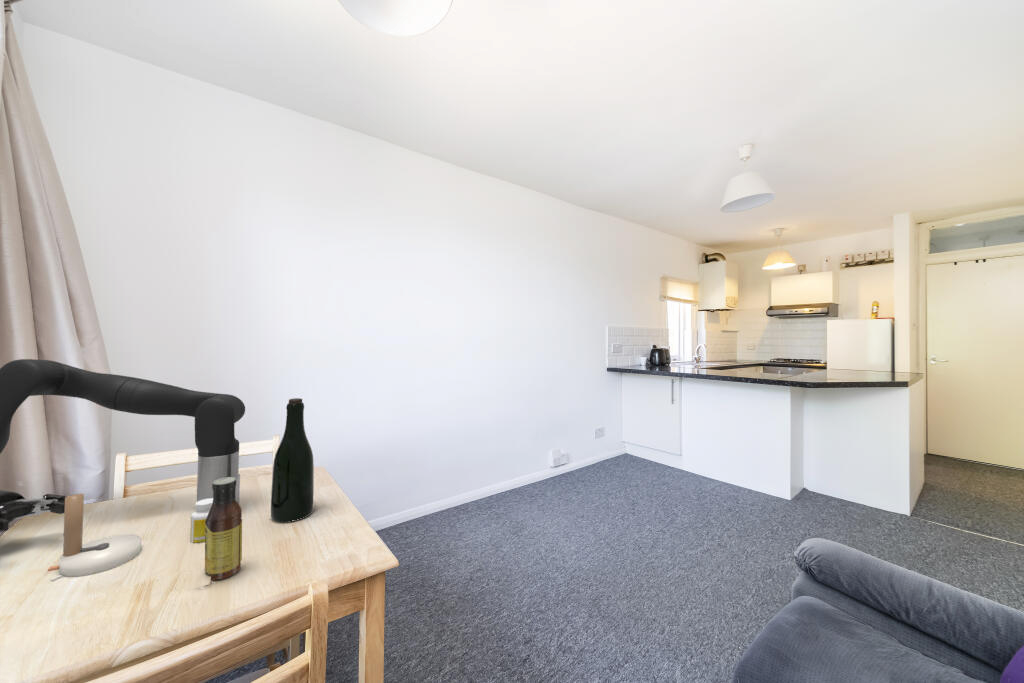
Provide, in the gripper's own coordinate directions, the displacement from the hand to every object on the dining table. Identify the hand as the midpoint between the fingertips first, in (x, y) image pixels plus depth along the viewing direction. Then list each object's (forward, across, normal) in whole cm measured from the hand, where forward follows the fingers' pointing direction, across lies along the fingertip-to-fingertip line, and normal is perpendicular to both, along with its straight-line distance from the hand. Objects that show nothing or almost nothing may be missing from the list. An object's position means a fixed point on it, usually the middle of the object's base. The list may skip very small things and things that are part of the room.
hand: (36, 517), depth 82 cm
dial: (+14, +4, +9) cm, 17 cm away
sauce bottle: (+41, +8, +10) cm, 43 cm away
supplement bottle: (+25, +17, +10) cm, 32 cm away
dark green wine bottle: (+34, +34, +10) cm, 49 cm away
